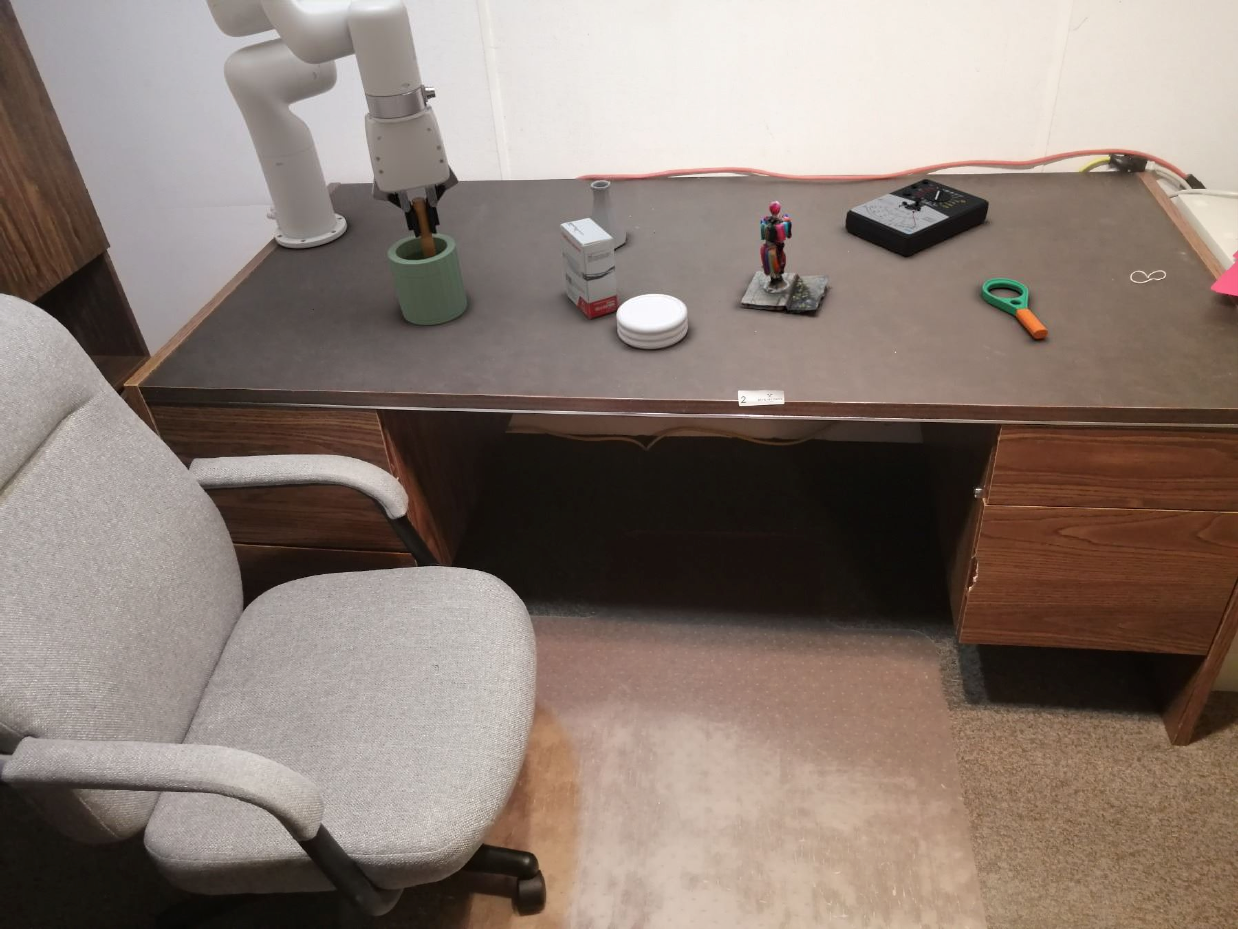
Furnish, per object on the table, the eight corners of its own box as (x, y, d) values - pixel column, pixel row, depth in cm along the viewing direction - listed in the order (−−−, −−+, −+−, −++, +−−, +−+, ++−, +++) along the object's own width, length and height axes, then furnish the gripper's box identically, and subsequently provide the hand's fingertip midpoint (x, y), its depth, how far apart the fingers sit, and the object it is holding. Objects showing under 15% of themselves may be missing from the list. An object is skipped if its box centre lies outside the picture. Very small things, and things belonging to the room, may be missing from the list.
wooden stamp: (418, 300, 136) (395, 203, 126) (436, 287, 139) (415, 190, 129) (442, 306, 134) (421, 208, 124) (460, 292, 137) (440, 195, 127)
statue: (741, 314, 131) (730, 218, 122) (758, 283, 137) (748, 189, 128) (816, 316, 126) (810, 216, 117) (829, 283, 133) (824, 187, 124)
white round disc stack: (666, 357, 121) (665, 335, 119) (604, 340, 126) (602, 318, 123) (700, 322, 127) (700, 301, 125) (640, 307, 132) (639, 286, 130)
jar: (389, 318, 135) (373, 257, 128) (428, 288, 141) (415, 229, 135) (442, 330, 131) (428, 268, 124) (479, 299, 137) (468, 238, 131)
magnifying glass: (974, 287, 130) (976, 276, 129) (1015, 283, 130) (1017, 273, 129) (1016, 342, 118) (1019, 331, 117) (1061, 338, 118) (1064, 327, 117)
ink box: (619, 310, 132) (614, 236, 124) (589, 320, 130) (581, 245, 123) (595, 287, 138) (588, 214, 130) (566, 295, 136) (557, 223, 129)
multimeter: (986, 221, 146) (992, 192, 142) (905, 258, 138) (910, 228, 135) (923, 197, 154) (927, 169, 151) (843, 231, 147) (846, 202, 143)
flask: (577, 248, 148) (570, 190, 142) (594, 230, 153) (588, 173, 147) (617, 253, 146) (612, 194, 140) (633, 234, 151) (629, 176, 145)
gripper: (450, 84, 122) (473, 212, 134) (334, 103, 119) (368, 232, 131) (460, 100, 116) (483, 232, 128) (337, 120, 113) (373, 253, 125)
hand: (424, 231), depth 129 cm, fingers closed on wooden stamp
